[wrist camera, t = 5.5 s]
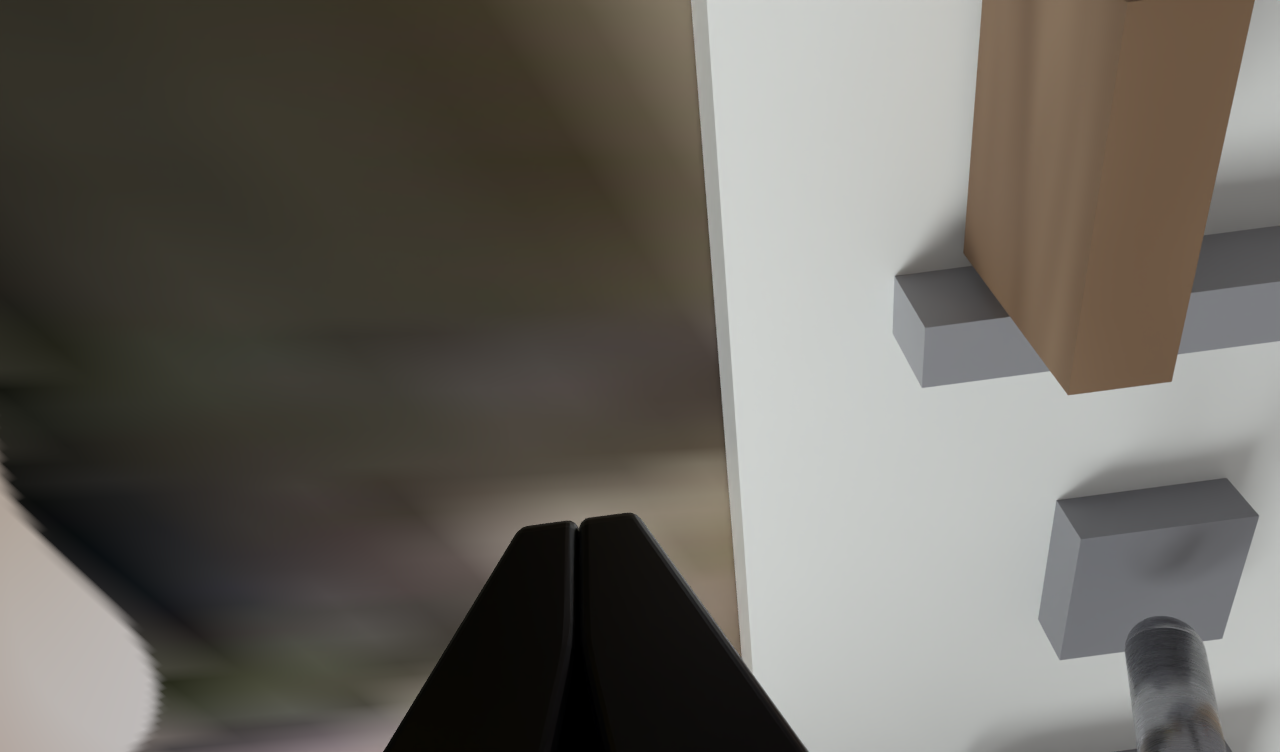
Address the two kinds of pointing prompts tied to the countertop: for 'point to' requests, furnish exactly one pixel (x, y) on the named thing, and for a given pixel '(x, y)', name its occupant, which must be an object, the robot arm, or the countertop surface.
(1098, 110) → the paddle
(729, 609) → the countertop surface
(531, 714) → the robot arm
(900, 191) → the control panel
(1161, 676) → the toggle lever
